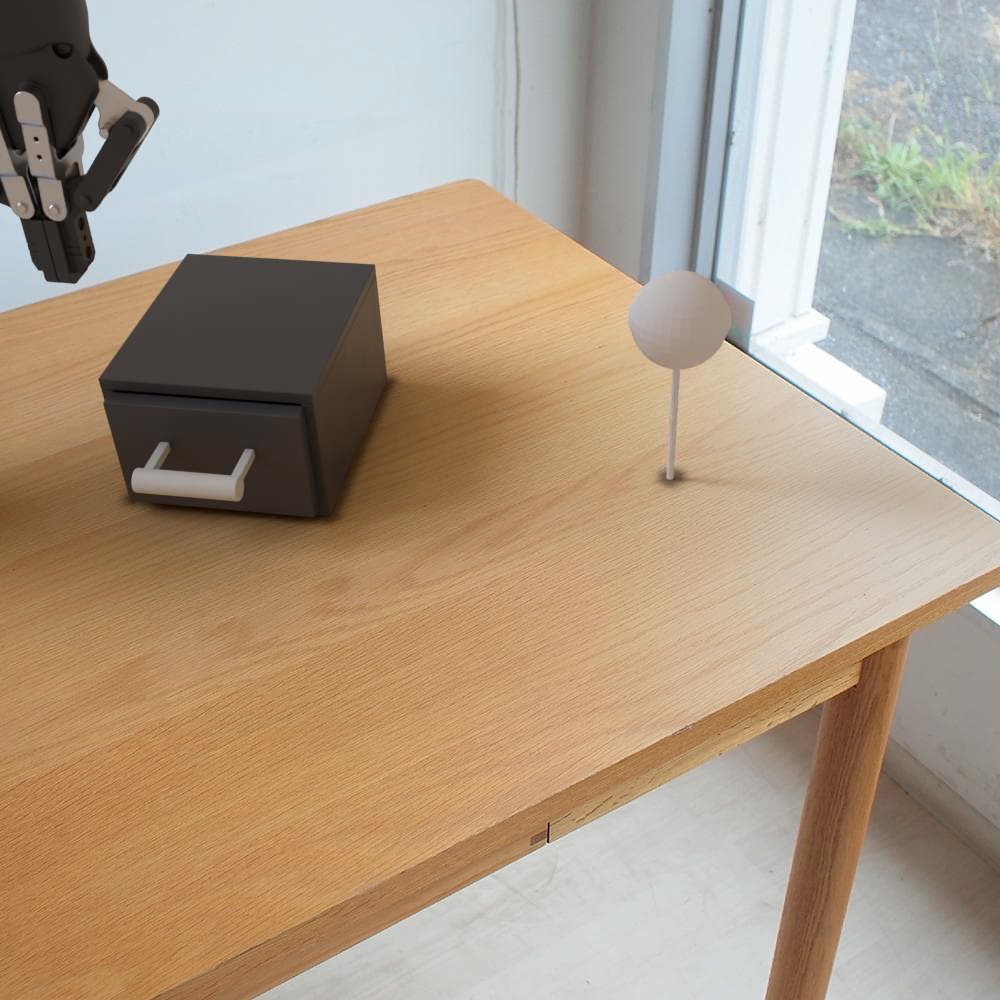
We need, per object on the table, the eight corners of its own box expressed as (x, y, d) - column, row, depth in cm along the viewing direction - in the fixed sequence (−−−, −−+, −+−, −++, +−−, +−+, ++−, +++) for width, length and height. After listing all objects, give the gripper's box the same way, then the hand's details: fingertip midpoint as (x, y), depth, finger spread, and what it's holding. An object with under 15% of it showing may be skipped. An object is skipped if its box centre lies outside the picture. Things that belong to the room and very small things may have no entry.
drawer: (295, 562, 80) (276, 461, 75) (103, 544, 82) (73, 444, 77) (370, 387, 94) (359, 292, 89) (206, 375, 96) (186, 281, 91)
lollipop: (613, 497, 85) (618, 295, 76) (633, 444, 90) (640, 246, 80) (708, 513, 84) (726, 309, 74) (724, 458, 88) (743, 258, 78)
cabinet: (330, 516, 85) (311, 394, 79) (131, 499, 87) (97, 378, 81) (387, 379, 97) (375, 263, 90) (211, 367, 99) (187, 253, 93)
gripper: (-213, -55, 55) (-86, 304, 66) (85, -44, 53) (164, 324, 64) (-118, -107, 61) (-16, 231, 72) (154, -98, 59) (216, 248, 70)
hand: (69, 275), depth 68 cm, fingers closed
